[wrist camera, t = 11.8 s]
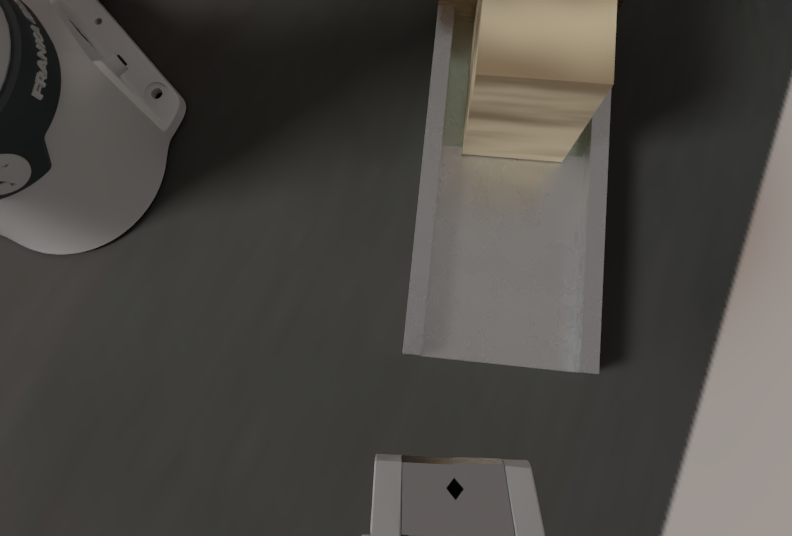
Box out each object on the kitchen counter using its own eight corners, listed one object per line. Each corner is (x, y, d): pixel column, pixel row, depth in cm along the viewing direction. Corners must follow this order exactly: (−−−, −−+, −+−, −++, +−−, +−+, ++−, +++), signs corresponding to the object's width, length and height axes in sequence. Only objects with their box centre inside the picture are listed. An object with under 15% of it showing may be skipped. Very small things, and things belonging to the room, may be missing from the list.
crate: (561, 162, 40) (613, 84, 29) (462, 154, 40) (476, 74, 29) (569, 25, 42) (621, -97, 31) (474, 18, 42) (491, -103, 31)
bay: (586, 373, 38) (616, 374, 32) (403, 354, 39) (400, 351, 33) (602, 25, 43) (631, -31, 37) (438, 14, 43) (441, -42, 38)
